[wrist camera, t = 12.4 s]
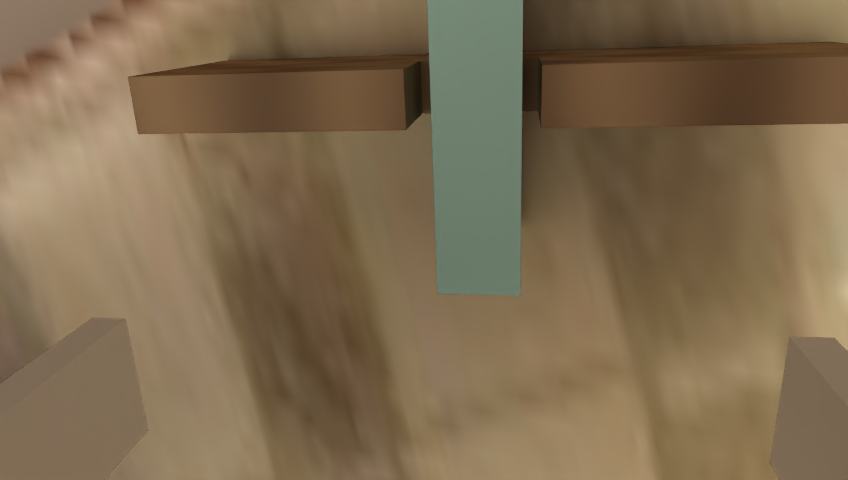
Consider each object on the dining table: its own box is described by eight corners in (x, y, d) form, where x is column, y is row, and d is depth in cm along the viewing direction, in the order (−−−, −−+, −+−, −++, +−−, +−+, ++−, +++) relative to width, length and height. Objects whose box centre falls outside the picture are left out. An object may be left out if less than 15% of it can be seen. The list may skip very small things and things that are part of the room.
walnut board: (230, 104, 31) (138, 133, 24) (224, 60, 30) (127, 77, 23) (821, 91, 27) (934, 122, 20) (829, 42, 27) (949, 53, 19)
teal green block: (457, 226, 32) (437, 293, 24) (449, -98, 27) (422, -140, 20) (520, 227, 31) (520, 295, 24) (523, -103, 27) (524, -148, 19)
